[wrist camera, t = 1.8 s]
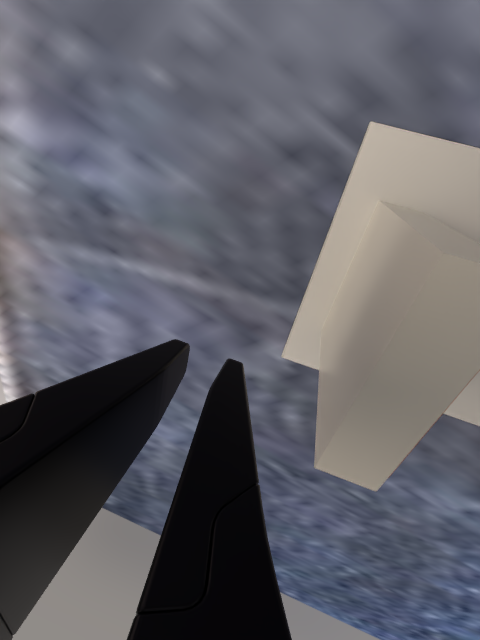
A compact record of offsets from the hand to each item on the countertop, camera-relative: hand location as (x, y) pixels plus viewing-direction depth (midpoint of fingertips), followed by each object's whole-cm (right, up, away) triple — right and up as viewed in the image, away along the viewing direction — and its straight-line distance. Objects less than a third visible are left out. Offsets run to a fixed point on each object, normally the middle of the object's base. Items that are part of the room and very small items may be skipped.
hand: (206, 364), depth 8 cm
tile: (+8, +3, +9) cm, 13 cm away
